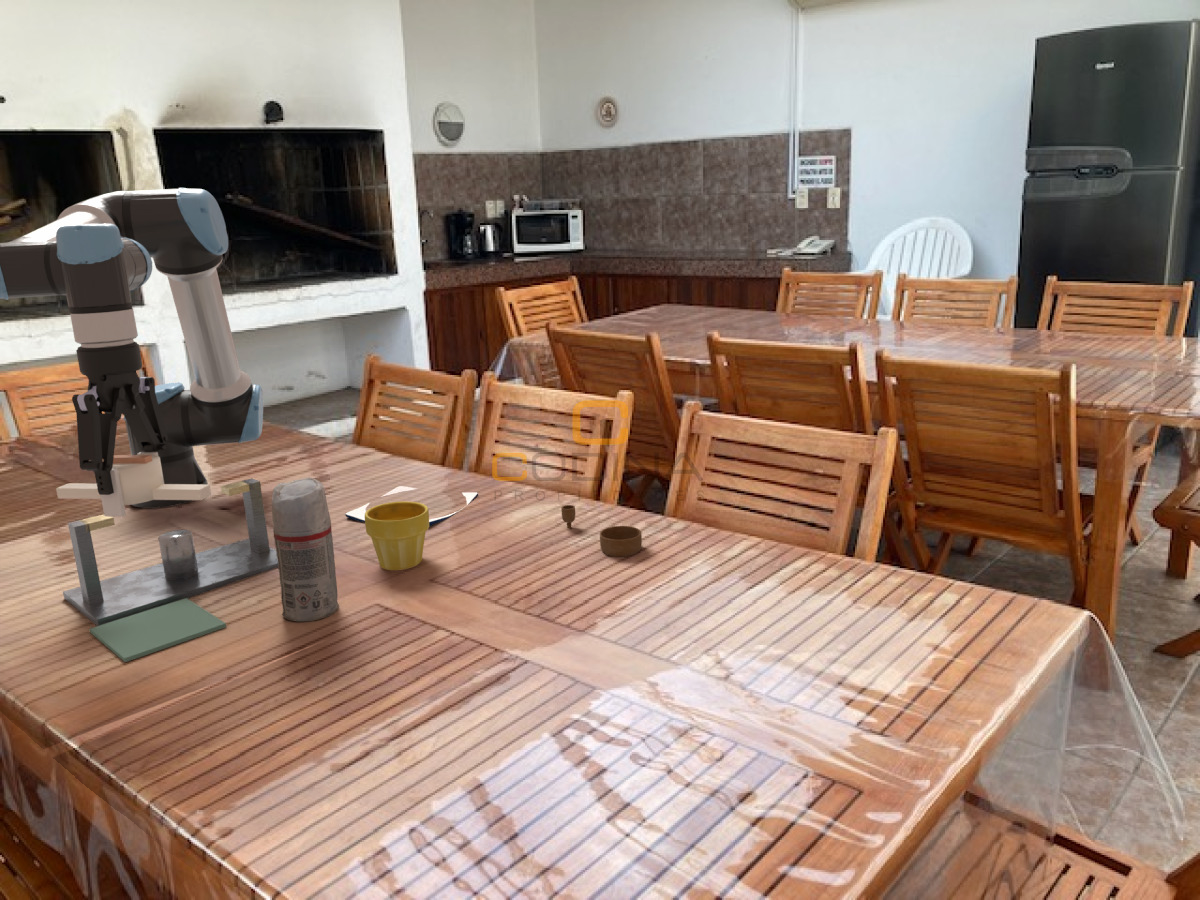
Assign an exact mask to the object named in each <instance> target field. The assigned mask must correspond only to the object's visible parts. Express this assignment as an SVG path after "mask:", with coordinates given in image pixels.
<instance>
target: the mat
mask: <svg viewBox="0 0 1200 900" xmlns="http://www.w3.org/2000/svg"><path fill="white" fill-rule="evenodd" d="M224 628H227V623H226V622H224V621H223V620H221V619H220V618H219V617H217V616H216V615H213V613H211V612H209V611H208V610H206V609H204V608H203V607H201V606H200V605H198V604H197V603H195V602H194V601H192V600H190V598H185V599H182V600H179V601H175V602H172V603H169V604H166V605H163V606H160V607H157V608H153V609H150V610H147V611H144V612H141V613H138V614H134V615H131V616H128V617H125V618H122V619H119V620H116V621H112V622H109V623H106V624H103V625H100V626H97V625H96V626H94V627H91V628H89V633H90V634H91V635H93V636H94V637H95V638H96V639H97V640H98V641H99V642H101V643H102V644H103V645H104V646H105V647H106V648H107V649H109V650H110V651H111V652H112V653H113V654H115V655H116V656H117V657H118V658H119V659H120V660H122V661H123V662H124V663H127V662H130V661H133V660H135V659H139V658H142V657H144V656H147V655H150V654H153V653H155V652H159V651H162V650H164V649H168V648H170V647H173V646H176V645H178V644H182V643H184V642H187V641H191V640H194V639H197V638H199V637H202V636H205V635H207V634H211V633H214V632H216V631H220V630H222V629H224Z"/></svg>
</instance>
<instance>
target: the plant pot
mask: <svg viewBox="0 0 1200 900" xmlns="http://www.w3.org/2000/svg"><path fill="white" fill-rule="evenodd" d="M429 512H430V511H429V508H428V506H427V505H426V504H424V503H422V502H417V501H409V500H408V501H407V500H406V501H404V500H403V501H391V502H387V503H386V502H385V503H381V504H378V505H375V506H373V507H370V508H369V509H367V510H366V512H365V523H364V525H365V527H364V528H365V532H366V535H367V536H369V537H370V539H371V540H372V545H373V547H374V551H375V555H376V557H377V561H378V563H379V566H380V568H381V569H384V570H387V571H403V570H407V569H410V568H413V567H416V566H418V565H419V564H421V563H422V560H423V553H424V547H425V537H426V532H427V531H428V530H429V528H430V526H429V519H430V513H429Z"/></svg>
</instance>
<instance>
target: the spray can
mask: <svg viewBox="0 0 1200 900" xmlns="http://www.w3.org/2000/svg"><path fill="white" fill-rule="evenodd" d="M271 496H272V497H271V498H272V499H271V515H272V516H271V517H272V526H273V529H272V530H273V540H274V545H275V546H274V547H275V550H276V555H277V559H278V567H277V568H278V573H279V582H280V583H279V584H280V594H281V595H280V596H281V597H280V598H281V605H282V614H281V615H282V617H283V618H285V619H287V620H288V621H291V622H313V621H318V620H321V619H324V618H327V617H330V616H332V615H333V614H335V613H336V612H337V611H338V609H339V607H340V605H339V602H338V598H339V597H338V581H337V577H336V576H337V574H336V573H337V572H336V562H335V561H336V560H335V553H334V552H335V551H334V540H333V531H332V519H331V515H330V511H329V506H328V502H327V496H326V490H325V487H324V484H323V483H322V482H321V481H320V480H318V479H316V478H313V477H311V476H310V477H309V476H308V477H305V478H301V479H293V480H292V481H288V482H285V481H284V482H281V483H278V484H277V485H276V486H275V487H274V488H273V490H272V495H271Z"/></svg>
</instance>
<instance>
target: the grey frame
mask: <svg viewBox="0 0 1200 900" xmlns="http://www.w3.org/2000/svg"><path fill="white" fill-rule="evenodd" d="M220 489H221V490H220V491H221V494H223V495H226V496H228V497H232V496H235V495H240V494H242V499H243V506H244V512H245V518H246V519H245V520H246V526H247V532H248V538H245V539H242V540H241V539H240V540H239V541H235V542H231V543H228V544H225V545H221V546H217V547H212V548H211V549H206V550H203V551H200V552H196V548H195V543H194V542H195V541H194V535H193V531H191V530H189V529H178V530H177V529H176V530H172V531H168V532H165V533H163V534H160V535H159V536H158V542H159V543H158V544H159V549H160V554H161V555H160V556H161V561H162V562H161V563H158V564H154V565H151V566H148V567H143V568H139V569H137V570H134V571H130V572H127V573H123V574H120V575H116V576H112V577H109V578H105V579H102V580H100V575H99V574H100V573H99V569H98V564H97V560H96V559H97V558H96V555H95V549H94V544H93V539H92V533H91V532H92V531H97V530H100V529H104V528H108V527H112V526H115V525H116V524H115V519H114V518H115V517H106V516H104V513H103V514H99V515H96V516H91V517H86V518H84V519H83V518H82V519H78V520H75V521H71V522H67V525H68V531H69V535H70V540H71V541H70V542H71V545H72V551H73V556H74V561H75V565H76V571H77V574H78V575H77V576H78V581H79V586H77V587H74V588H70V589H68V590H64V591H62V594H63V599H64V600H65V601H67V603H69V604H70V605H72V607H74V608H75V609H76V610H78V612H80V613H81V615H84V616H85V617H86V618H87V619H88V620H89V621H90V622H91V623H93V624H94V625H95V626H96V627H97V626H100V625H103V624H106V623H109V622H112V621H116V620H119V619H122V618H125V617H128V616H131V615H134V614H138V613H141V612H144V611H147V610H150V609H153V608H157V607H160V606H163V605H166V604H169V603H172V602H175V601H179V600H182V599H185V598H187V599H190V598H192V597H196V596H198V595H201V594H204V593H207V592H210V591H213V590H215V589H218V588H219V589H220V588H222V587H224V586H227V585H228V586H229V585H230V584H233V583H237V582H239V581H243V580H245V579H249V578H250V577H254V576H257V575H259V574H263V573H265V572H268V571H271V570H275V569H277V568H278V559H277V555H276V548H272V547H271V546H270V544H269V543H270V542H269V536H268V529H267V522H266V521H267V520H266V514H265V507H264V499H263V493H262V486H261V481H260V480H258V479H254V478H248V479H244V480H240V481H236V482H232V483H227V484H223V485H220ZM262 572H263V573H262Z"/></svg>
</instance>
